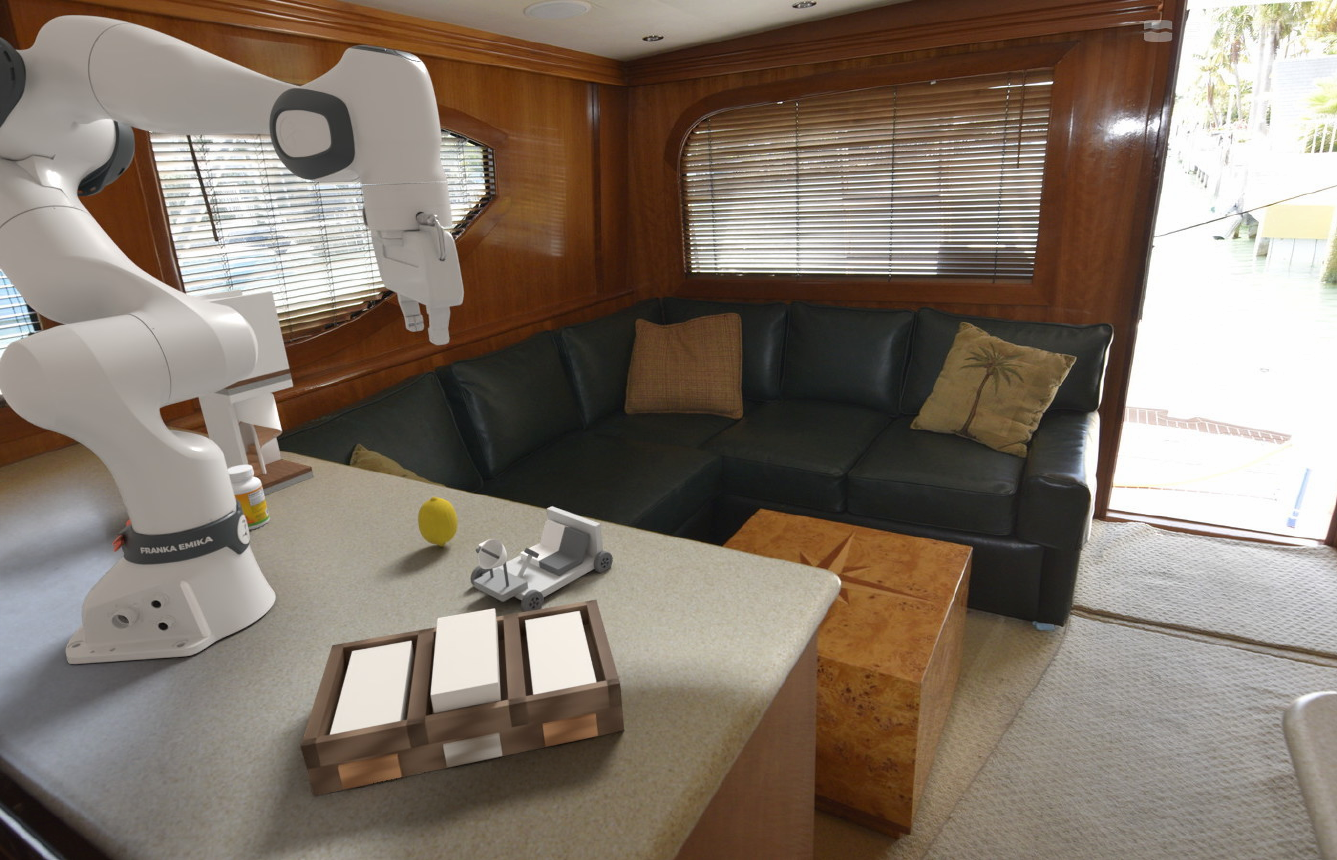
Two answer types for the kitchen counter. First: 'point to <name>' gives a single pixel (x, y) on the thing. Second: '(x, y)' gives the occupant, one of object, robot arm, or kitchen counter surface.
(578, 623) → the switch
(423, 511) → the lemon
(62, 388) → the robot arm
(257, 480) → the supplement bottle
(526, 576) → the toy car
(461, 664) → the switch
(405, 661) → the switch
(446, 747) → the brown boxy piece
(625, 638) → the kitchen counter surface
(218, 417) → the white tiered stand
